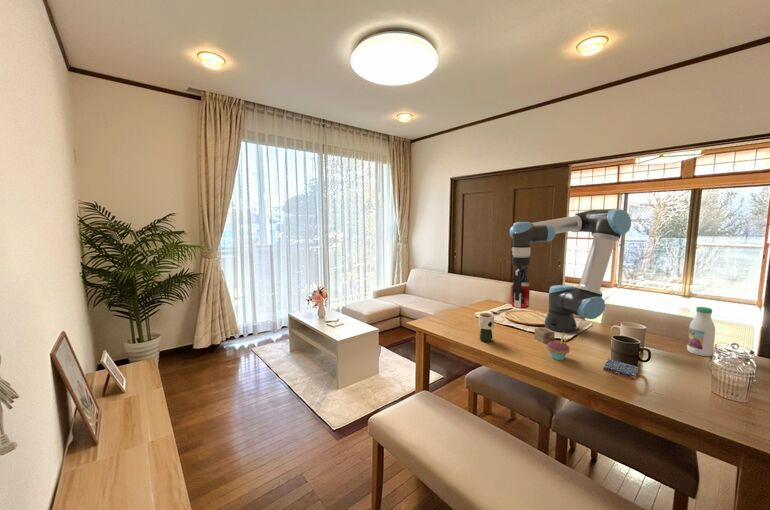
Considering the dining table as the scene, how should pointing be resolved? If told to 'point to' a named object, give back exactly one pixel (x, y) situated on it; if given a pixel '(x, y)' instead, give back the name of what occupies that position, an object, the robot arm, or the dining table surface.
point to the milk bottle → (701, 333)
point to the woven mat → (621, 368)
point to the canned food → (522, 295)
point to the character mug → (486, 326)
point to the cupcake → (558, 349)
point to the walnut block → (544, 335)
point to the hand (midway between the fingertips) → (520, 304)
